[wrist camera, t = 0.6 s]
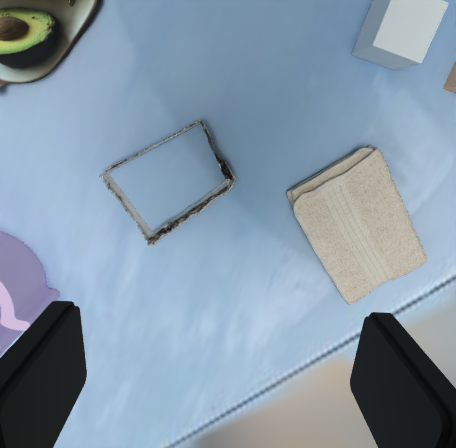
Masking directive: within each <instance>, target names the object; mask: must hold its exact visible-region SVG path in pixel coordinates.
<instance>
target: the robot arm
mask: <svg viewBox="0 0 456 448" xmlns="http://www.w3.org/2000/svg"><path fill="white" fill-rule="evenodd" d="M86 376H87V370H86V361H85V352H84V343H83V334H82V325H81V316H80V309H79V307H78V306H75V305H74V303H73V302H72V301H52V302H51V303H50V304H49V305H48V306H47V307H46V309H45V310H44V311H43V312H42V313H41V314H40V315H39V316H38V318H37V319H36V320H35V321H34V322H33V323H32V324H31V325H30V327H29V328H28V329H27V330H26V331H25V332H24V333H23V334H22V336H21V337H20V338H19V339H18V340H17V341H16V342H15V343H14V344H13V345H12V346H11V347H10V348H9V349H8V350H7V351H6V352H5V354H4V355H3V356H2V357H1V358H0V448H53V447H54V445H55V442H56V440H57V438H58V436H59V434H60V432H61V430H62V428H63V426H64V424H65V422H66V420H67V418H68V416H69V414H70V412H71V410H72V408H73V406H74V404H75V402H76V400H77V398H78V396H79V394H80V392H81V390H82V388H83V386H84V384H85V381H86ZM350 387H351V391H352V393H353V395H354V397H355V399H356V401H357V404H358V406H359V408H360V410H361V412H362V414H363V416H364V419H365V421H366V423H367V425H368V427H369V429H370V431H371V433H372V435H373V438H374V440H375V441H376V444H377V446H378V448H456V389H455V387H454V386H453V385H452V384H451V383H450V382H449V380H448V379H447V378H446V377H445V376H444V374H443V373H442V372H441V371H440V370H439V369H438V367H437V366H436V365H435V364H434V363H433V362H432V361H431V359H430V358H429V357H428V356H427V355H426V354H425V353H424V351H423V350H422V349H421V348H420V347H419V345H418V344H417V343H416V342H415V341H414V339H413V338H412V337H411V336H410V335H409V334H408V332H407V331H406V330H405V329H404V328H403V327H402V325H401V324H400V323H399V322H398V321H397V320H396V318H395V317H394V316H393V315H392V314H391V313H378V312H373V313H371V314H370V315H369V317H366V318H365V319H364V323H363V327H362V331H361V335H360V340H359V344H358V348H357V352H356V357H355V361H354V365H353V369H352V374H351V378H350Z"/></svg>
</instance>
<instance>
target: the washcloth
mask: <svg viewBox="0 0 456 448" xmlns="http://www.w3.org/2000/svg"><path fill="white" fill-rule="evenodd" d="M387 167H388V165H387V164H386V161H385V160H384V157H383V155H382V153H381V152H380V150H379V149H378V148H377V147H375V148H372V147H371V145H369V146H368V147H367V148H359V150H357V152H355V153H351V154H349V155H347V156H345V157H343V158H342V159H340V160H338V161H336V162H335V163H333V164H332V165H330V166H329V167H327V168H326V169H324V170H323V171H321V172H319V173H318V174H316V175H314V176H312V177H310V178H308V179H307V180H305V181H303V182H302V183H300V184H298V185H297V186H295V187H293V188H292V189H290V190H288V191H287V196H288V199H289V200H290V203H291V205H292V209H293V211H294V215H295V217H296V219H297V220H298V222H299V224H300V225H301V227H302V229H303V231H304V233H305V234H306V236H307V239H308V240H309V242H310V244H311V246H312V248H313V250H314V251H315V253H316V254H317V256H318V257H319V259H320V260H321V262H322V264H323V266H324V267H325V270H326V271H327V273H328V274H329V275H330V277H331V278H332V280H333V282H334V284H335V286H336V287H337V289H338V291H339V292H340V294H341V295H342V297H343V298H344V300H345V301H346V302H347V304H348V305H350V304H351V303H354V302H356V301H358V300H359V299H361V298H362V297H364V296H366V295H367V294H369V293H371V292H372V291H373V290H374V289H375V288H377V287H378V286H381V285H382V284H383V283H385V282H387V281H388V280H395V279H396V278H398V277H400V276H403V275H405V274H407V273H408V272H411V271H412V270H414V269H416V268H417V267H420V266H421V265H424V264H425V263H426V260H427V259H426V258H427V255H425V254H424V249H423V247H422V245H421V244H420V240H419V238H418V237H417V233H416V231H415V230H414V228H413V226H412V222H411V221H410V219H409V215H408V211H407V210H406V209H405V207H404V205H403V201H402V200H401V196H400V194H399V192H398V191H397V189H396V186H395V183H394V181H393V180H392V178H391V175H390V174H391V173H390V172H389V169H388V168H387Z"/></svg>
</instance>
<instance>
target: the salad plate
mask: <svg viewBox="0 0 456 448" xmlns="http://www.w3.org/2000/svg"><path fill="white" fill-rule="evenodd" d="M100 3H101V0H70V3H69V0H0V87H1V86H2V85H5V84H10V83H28V82H34V81H36V80H39V79H41V78H43V77H44V76H46V75H47V74H48V73H49V72H51V71H52V70H53V69H54V68H55V67H56V66H57V65H58V64H59V63H60V62H61V61H62V60H63V59H64V58H65V57H66V56H67V55H68V53H69V52H70V50H71V49H72V47H73V46H74V44H75V43H76V42H77V41H78V39H79V38H80V37H81V35H82V34H83V33H84V31H85V30H86V29H87V27H88V26H89V24H90V23H91V21H92V19H93V17H94V15H95V13H96V11H97V9H98V7H99V5H100Z"/></svg>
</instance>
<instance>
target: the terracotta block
mask: <svg viewBox="0 0 456 448" xmlns="http://www.w3.org/2000/svg"><path fill="white" fill-rule="evenodd" d="M443 89H446V90H449V91H452V92H454V93H456V62H455V65H454V67H453V69H452V71H451V73H450V75H449V77H448V79H447V81H446V83H445V85H444V87H443Z"/></svg>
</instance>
